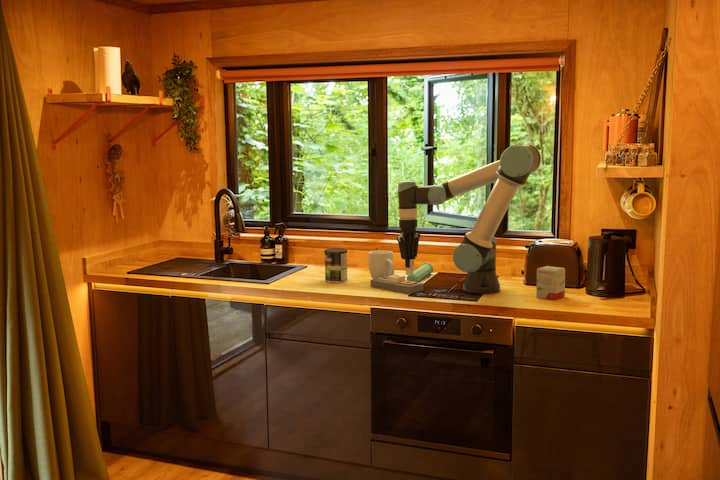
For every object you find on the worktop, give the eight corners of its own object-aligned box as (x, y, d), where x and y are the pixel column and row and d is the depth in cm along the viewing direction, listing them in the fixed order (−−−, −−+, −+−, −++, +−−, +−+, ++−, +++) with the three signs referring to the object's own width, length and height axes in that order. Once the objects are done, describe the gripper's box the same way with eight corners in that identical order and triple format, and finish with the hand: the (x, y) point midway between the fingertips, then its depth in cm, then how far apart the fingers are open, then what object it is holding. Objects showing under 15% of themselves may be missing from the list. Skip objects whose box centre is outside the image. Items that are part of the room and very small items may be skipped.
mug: (403, 282, 317) (403, 253, 315) (383, 285, 311) (382, 255, 309) (384, 277, 329) (383, 249, 327) (364, 280, 323) (363, 251, 321)
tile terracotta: (416, 290, 301) (416, 281, 300) (409, 292, 297) (409, 283, 297) (407, 288, 304) (407, 280, 304) (400, 290, 301) (399, 282, 300)
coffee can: (330, 284, 317) (330, 252, 315) (321, 280, 326) (320, 249, 324) (351, 281, 322) (351, 250, 320) (341, 277, 331) (341, 247, 329)
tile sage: (393, 285, 310) (393, 277, 309) (385, 287, 306) (385, 279, 306) (384, 284, 313) (384, 276, 313) (377, 286, 310) (377, 278, 309)
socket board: (423, 290, 301) (423, 283, 300) (409, 294, 295) (409, 286, 294) (384, 283, 316) (384, 276, 316) (370, 286, 310) (370, 279, 309)
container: (414, 271, 312) (430, 260, 334) (402, 275, 314) (419, 264, 337) (419, 284, 312) (435, 272, 334) (407, 288, 314) (424, 276, 337)
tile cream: (405, 283, 305) (404, 275, 305) (397, 285, 301) (397, 277, 301) (396, 282, 308) (396, 274, 308) (388, 284, 305) (388, 275, 304)
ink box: (565, 296, 286) (566, 267, 284) (555, 300, 279) (556, 270, 278) (545, 293, 291) (546, 264, 290) (535, 297, 285) (536, 268, 283)
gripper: (411, 216, 304) (412, 271, 307) (390, 219, 294) (392, 276, 297) (425, 217, 298) (426, 273, 302) (404, 220, 289) (406, 278, 292)
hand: (409, 274), depth 300 cm, fingers closed
